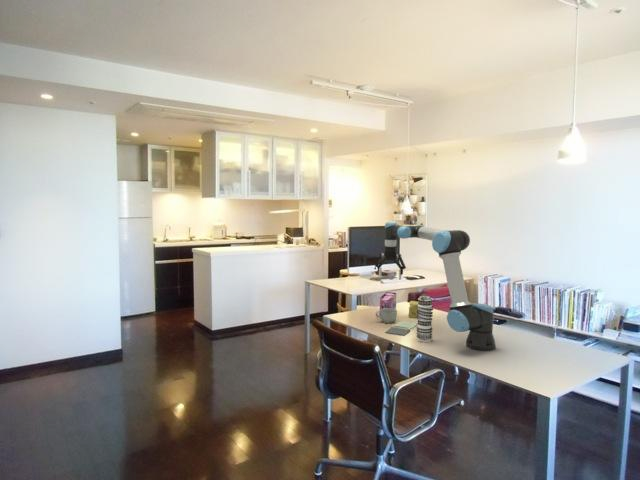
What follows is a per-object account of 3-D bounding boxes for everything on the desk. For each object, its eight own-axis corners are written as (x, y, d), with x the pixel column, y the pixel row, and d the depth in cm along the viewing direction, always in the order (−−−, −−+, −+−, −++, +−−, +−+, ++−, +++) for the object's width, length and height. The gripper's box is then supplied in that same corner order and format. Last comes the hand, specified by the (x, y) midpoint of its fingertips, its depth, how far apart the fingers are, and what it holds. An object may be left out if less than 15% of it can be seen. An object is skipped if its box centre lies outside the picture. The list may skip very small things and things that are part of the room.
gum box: (390, 319, 290) (390, 299, 289) (378, 318, 293) (378, 298, 292) (396, 311, 312) (396, 292, 311) (385, 310, 315) (385, 291, 314)
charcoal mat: (410, 330, 263) (410, 329, 263) (404, 335, 252) (404, 334, 252) (391, 328, 268) (391, 327, 268) (385, 333, 258) (385, 332, 258)
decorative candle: (435, 341, 243) (436, 297, 241) (421, 342, 240) (422, 298, 238) (427, 336, 251) (428, 294, 249) (413, 337, 249) (414, 295, 247)
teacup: (396, 320, 287) (396, 308, 287) (397, 324, 277) (397, 312, 276) (375, 319, 289) (375, 307, 288) (375, 323, 278) (375, 311, 277)
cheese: (408, 318, 293) (408, 303, 292) (409, 314, 303) (410, 300, 302) (424, 319, 290) (424, 304, 289) (424, 315, 300) (425, 301, 299)
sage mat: (417, 324, 277) (417, 323, 277) (412, 329, 266) (412, 328, 266) (399, 322, 282) (399, 321, 282) (393, 326, 272) (393, 325, 272)
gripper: (411, 246, 275) (410, 279, 276) (374, 244, 286) (374, 276, 288) (407, 247, 268) (406, 281, 270) (370, 245, 280) (369, 277, 282)
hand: (390, 278), depth 279 cm, fingers open, 13 cm apart
